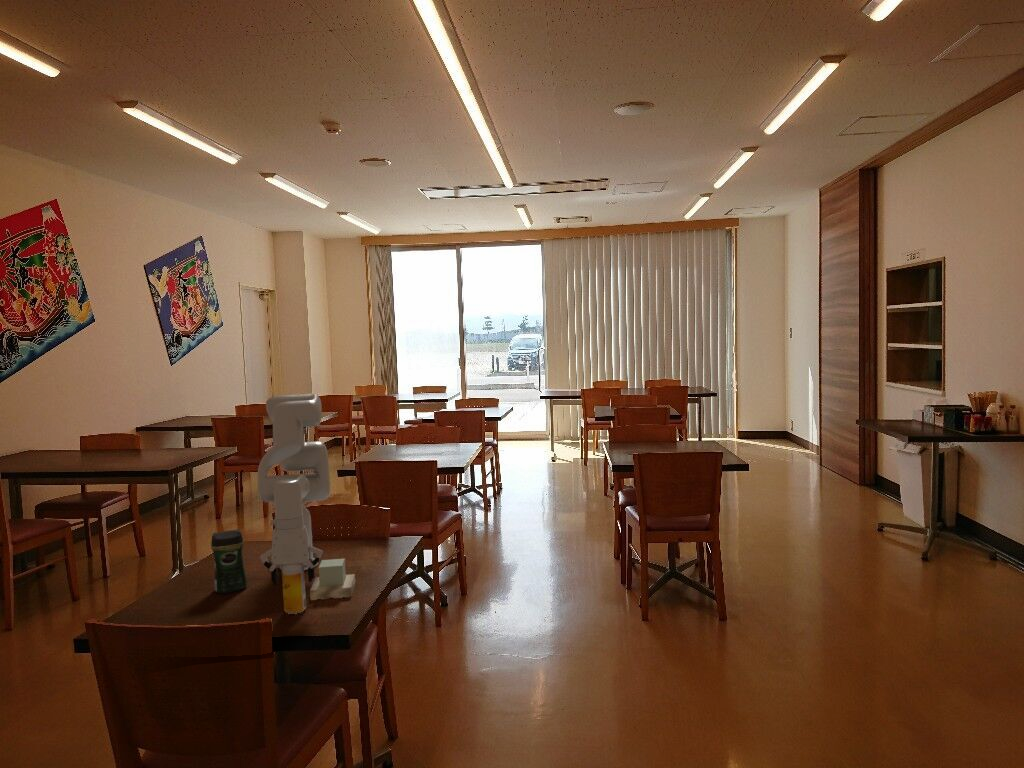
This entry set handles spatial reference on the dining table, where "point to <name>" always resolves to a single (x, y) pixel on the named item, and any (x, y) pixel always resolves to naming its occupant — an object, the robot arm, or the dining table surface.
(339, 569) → the cube
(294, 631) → the dining table surface
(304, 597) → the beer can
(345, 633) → the dining table surface
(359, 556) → the dining table surface
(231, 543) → the coffee jar
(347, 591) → the slab
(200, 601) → the dining table surface
